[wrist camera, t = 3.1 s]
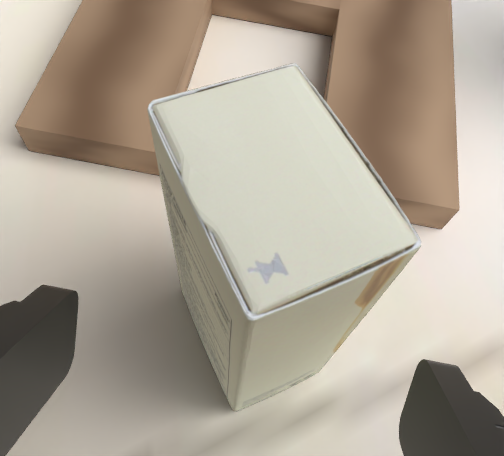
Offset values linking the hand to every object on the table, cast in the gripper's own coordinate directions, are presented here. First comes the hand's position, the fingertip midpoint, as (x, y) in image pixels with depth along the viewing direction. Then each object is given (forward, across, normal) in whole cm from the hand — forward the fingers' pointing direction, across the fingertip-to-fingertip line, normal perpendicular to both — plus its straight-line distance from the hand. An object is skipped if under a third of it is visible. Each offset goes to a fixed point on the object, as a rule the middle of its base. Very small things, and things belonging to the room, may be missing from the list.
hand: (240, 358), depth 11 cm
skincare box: (+10, 0, +4) cm, 11 cm away
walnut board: (+20, +2, -6) cm, 21 cm away
